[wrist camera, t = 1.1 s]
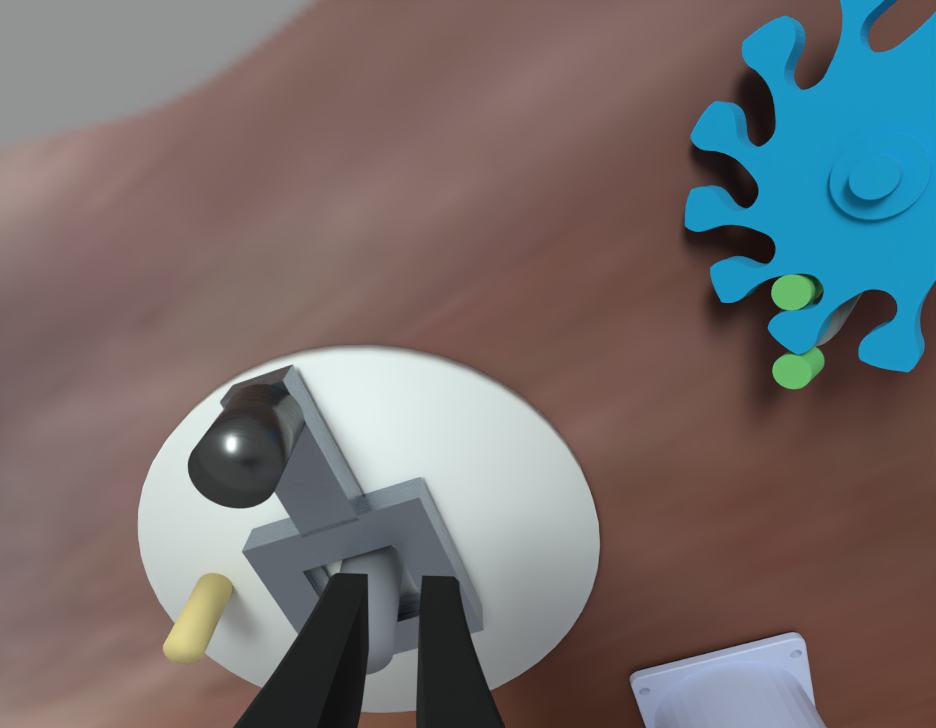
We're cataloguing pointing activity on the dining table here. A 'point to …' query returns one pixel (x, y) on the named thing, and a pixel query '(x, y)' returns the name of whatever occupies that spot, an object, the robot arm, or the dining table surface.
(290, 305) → the dining table surface
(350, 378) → the base plate
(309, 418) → the crank handle
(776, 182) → the gear
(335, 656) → the robot arm
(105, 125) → the dining table surface
